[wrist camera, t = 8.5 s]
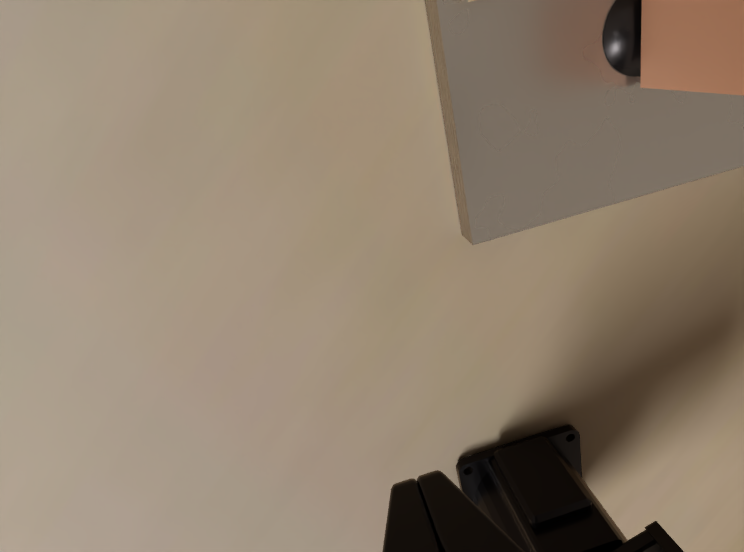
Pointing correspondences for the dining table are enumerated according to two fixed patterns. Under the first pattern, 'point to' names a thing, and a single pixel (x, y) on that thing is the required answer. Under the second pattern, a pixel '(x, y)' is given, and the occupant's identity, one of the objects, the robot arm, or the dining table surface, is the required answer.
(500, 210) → the flange plate
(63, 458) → the dining table surface
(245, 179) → the dining table surface
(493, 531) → the robot arm
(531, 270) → the dining table surface
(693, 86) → the slide leg
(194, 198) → the dining table surface
